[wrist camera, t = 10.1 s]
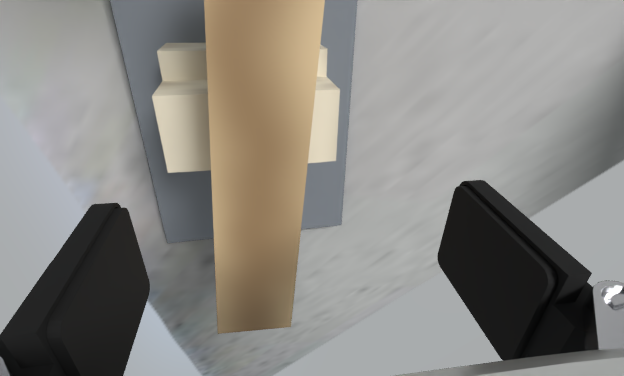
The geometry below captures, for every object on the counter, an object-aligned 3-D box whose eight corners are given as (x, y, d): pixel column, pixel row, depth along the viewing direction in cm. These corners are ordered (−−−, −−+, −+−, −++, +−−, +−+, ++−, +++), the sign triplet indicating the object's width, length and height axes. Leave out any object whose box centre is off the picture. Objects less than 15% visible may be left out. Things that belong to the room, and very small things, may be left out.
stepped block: (316, 41, 22) (341, 58, 17) (314, 144, 26) (334, 184, 21) (165, 42, 21) (144, 62, 16) (185, 152, 24) (173, 197, 19)
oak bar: (312, -107, 14) (339, -135, 10) (282, 277, 23) (290, 326, 20) (206, -125, 13) (197, -164, 10) (219, 281, 23) (217, 333, 19)
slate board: (358, -104, 20) (365, -109, 19) (337, 217, 31) (341, 225, 30) (88, -122, 18) (79, -129, 16) (169, 233, 28) (167, 243, 27)
